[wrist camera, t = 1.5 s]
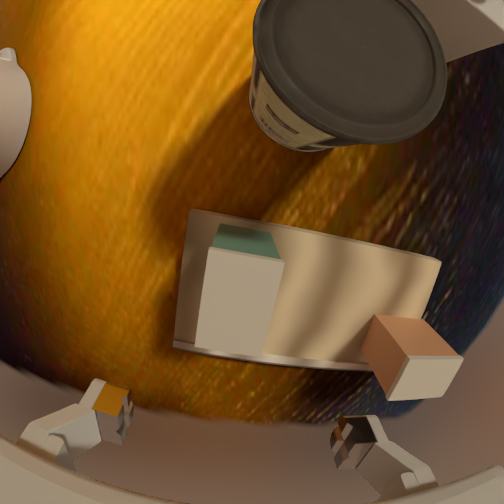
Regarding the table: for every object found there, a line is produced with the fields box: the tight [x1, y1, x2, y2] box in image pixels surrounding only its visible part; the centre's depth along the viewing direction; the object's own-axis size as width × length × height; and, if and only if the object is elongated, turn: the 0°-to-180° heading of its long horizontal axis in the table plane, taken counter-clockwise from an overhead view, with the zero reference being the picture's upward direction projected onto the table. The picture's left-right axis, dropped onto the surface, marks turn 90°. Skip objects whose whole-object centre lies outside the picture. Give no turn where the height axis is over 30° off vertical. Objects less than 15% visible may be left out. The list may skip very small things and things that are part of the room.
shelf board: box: [173, 208, 442, 371], centre depth 29 cm, size 26×14×2 cm, turn 79°
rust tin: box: [361, 314, 464, 401], centre depth 26 cm, size 5×7×8 cm
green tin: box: [195, 223, 285, 357], centre depth 23 cm, size 5×7×8 cm
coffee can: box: [249, 0, 447, 152], centre depth 18 cm, size 10×10×14 cm
